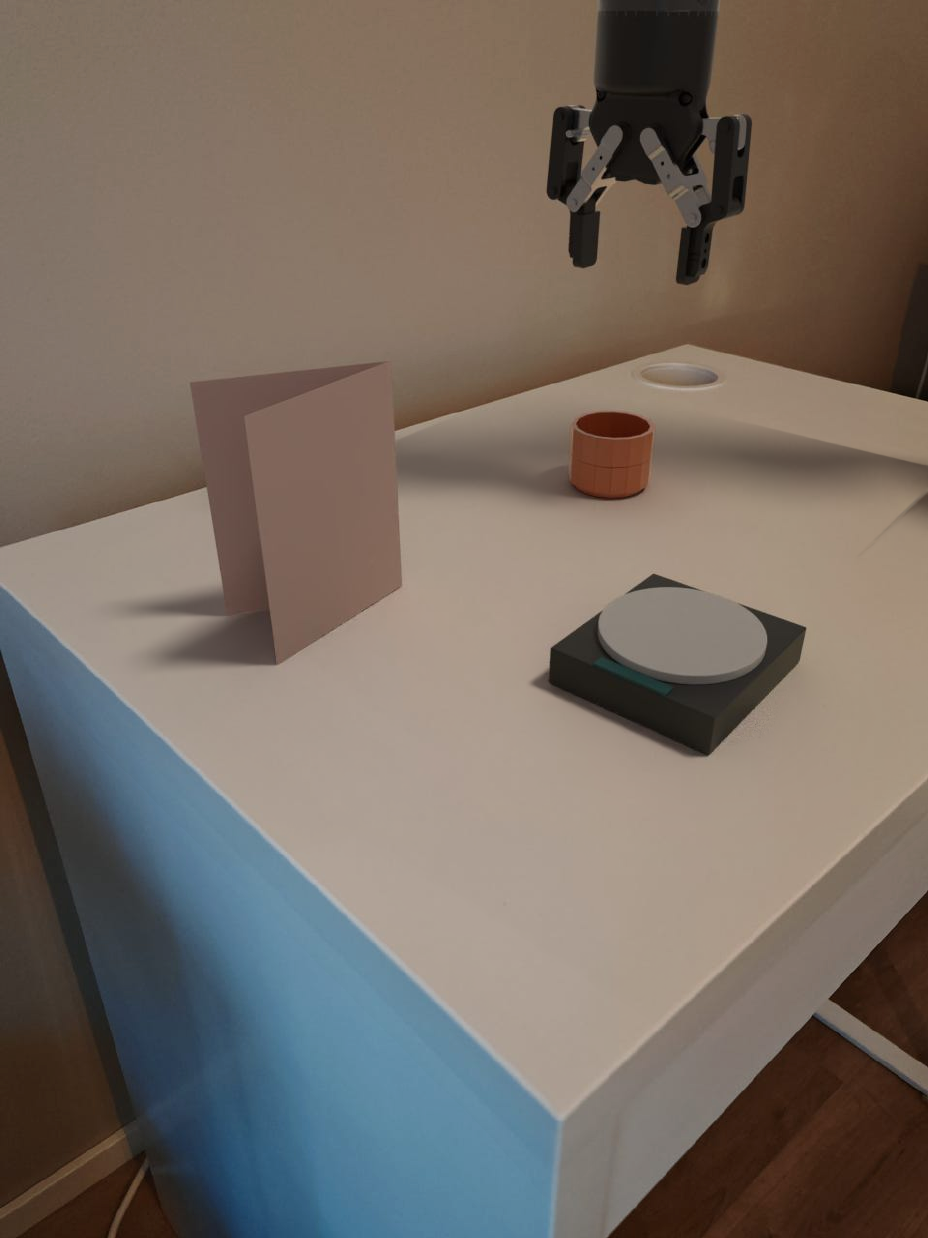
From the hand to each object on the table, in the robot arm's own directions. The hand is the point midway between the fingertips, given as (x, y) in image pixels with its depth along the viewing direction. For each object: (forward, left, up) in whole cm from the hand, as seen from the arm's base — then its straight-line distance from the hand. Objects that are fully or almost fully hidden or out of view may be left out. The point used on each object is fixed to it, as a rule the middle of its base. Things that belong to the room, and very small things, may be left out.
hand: (633, 274), depth 69 cm
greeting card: (+29, -3, -17) cm, 34 cm away
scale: (+20, +17, -16) cm, 31 cm away
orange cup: (0, -1, -16) cm, 16 cm away
